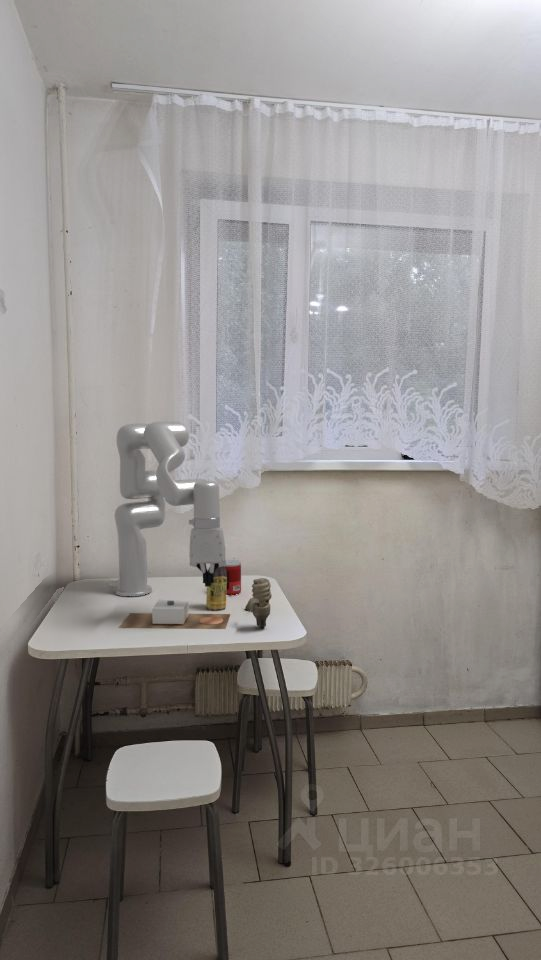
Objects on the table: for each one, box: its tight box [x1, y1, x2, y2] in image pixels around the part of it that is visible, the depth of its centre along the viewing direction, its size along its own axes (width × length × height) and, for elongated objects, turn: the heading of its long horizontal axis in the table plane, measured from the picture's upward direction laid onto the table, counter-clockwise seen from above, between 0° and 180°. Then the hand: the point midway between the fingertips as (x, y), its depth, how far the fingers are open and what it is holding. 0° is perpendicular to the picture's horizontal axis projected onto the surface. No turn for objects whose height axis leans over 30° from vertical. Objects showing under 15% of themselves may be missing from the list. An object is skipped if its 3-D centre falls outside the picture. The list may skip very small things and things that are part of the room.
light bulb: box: [251, 577, 272, 630], centre depth 189 cm, size 6×6×15 cm
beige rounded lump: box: [244, 591, 273, 613], centre depth 207 cm, size 6×8×10 cm
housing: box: [151, 599, 190, 624], centre depth 193 cm, size 9×9×5 cm
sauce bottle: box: [205, 566, 227, 612], centre depth 205 cm, size 7×6×20 cm
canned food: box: [224, 559, 242, 596], centre depth 227 cm, size 8×8×11 cm
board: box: [117, 612, 231, 630], centre depth 193 cm, size 31×14×1 cm, turn 88°
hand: (208, 585), depth 191 cm, fingers closed
